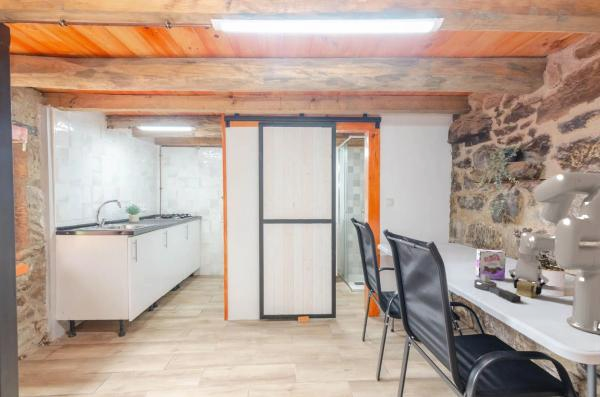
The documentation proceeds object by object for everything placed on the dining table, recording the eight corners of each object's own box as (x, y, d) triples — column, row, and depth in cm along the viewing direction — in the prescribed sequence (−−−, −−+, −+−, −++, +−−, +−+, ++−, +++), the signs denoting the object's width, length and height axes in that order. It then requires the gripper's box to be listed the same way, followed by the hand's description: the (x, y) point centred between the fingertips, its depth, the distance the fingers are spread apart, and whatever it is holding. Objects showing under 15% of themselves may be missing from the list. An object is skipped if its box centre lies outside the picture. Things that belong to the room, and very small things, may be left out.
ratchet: (525, 302, 139) (526, 287, 139) (506, 302, 138) (506, 287, 138) (487, 284, 164) (487, 272, 164) (470, 284, 163) (470, 272, 163)
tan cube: (537, 296, 148) (538, 284, 147) (530, 298, 145) (531, 285, 145) (523, 291, 153) (524, 280, 153) (516, 293, 151) (516, 281, 150)
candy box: (478, 278, 176) (479, 250, 175) (475, 275, 182) (476, 248, 181) (504, 280, 173) (506, 252, 172) (500, 277, 178) (502, 250, 178)
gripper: (553, 260, 142) (551, 296, 143) (514, 253, 158) (512, 284, 159) (545, 262, 139) (543, 298, 140) (505, 254, 155) (504, 286, 155)
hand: (526, 291), depth 149 cm, fingers open, 9 cm apart
